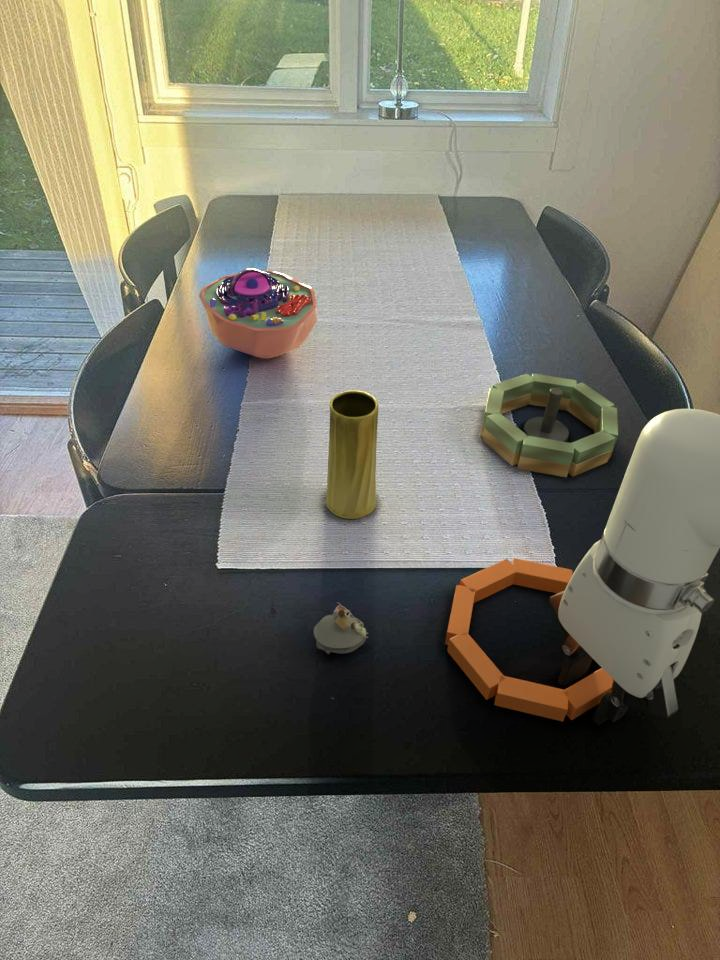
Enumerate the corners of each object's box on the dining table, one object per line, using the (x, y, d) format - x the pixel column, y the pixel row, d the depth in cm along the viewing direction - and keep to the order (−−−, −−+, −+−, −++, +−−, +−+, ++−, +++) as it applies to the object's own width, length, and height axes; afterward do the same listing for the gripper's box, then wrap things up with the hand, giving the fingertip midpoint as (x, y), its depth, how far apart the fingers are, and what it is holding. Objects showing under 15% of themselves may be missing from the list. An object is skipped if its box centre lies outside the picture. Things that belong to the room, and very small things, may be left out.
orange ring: (660, 666, 67) (666, 654, 66) (525, 749, 61) (529, 737, 59) (541, 553, 78) (544, 540, 77) (415, 612, 72) (417, 599, 70)
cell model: (228, 389, 101) (220, 318, 93) (194, 325, 114) (185, 259, 107) (337, 366, 106) (337, 298, 99) (292, 308, 120) (289, 244, 112)
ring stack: (636, 449, 93) (652, 406, 88) (540, 491, 86) (552, 446, 82) (549, 387, 104) (559, 345, 99) (457, 419, 97) (464, 376, 92)
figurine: (311, 660, 67) (310, 621, 63) (316, 622, 70) (315, 583, 66) (366, 663, 67) (369, 624, 63) (368, 626, 70) (371, 587, 66)
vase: (315, 505, 83) (313, 407, 74) (345, 478, 87) (347, 381, 77) (357, 527, 80) (361, 428, 71) (386, 498, 84) (393, 400, 75)
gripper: (778, 621, 49) (688, 751, 61) (603, 482, 59) (556, 617, 71) (707, 666, 46) (627, 794, 58) (536, 512, 56) (499, 647, 68)
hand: (589, 695), depth 65 cm, fingers open, 3 cm apart
